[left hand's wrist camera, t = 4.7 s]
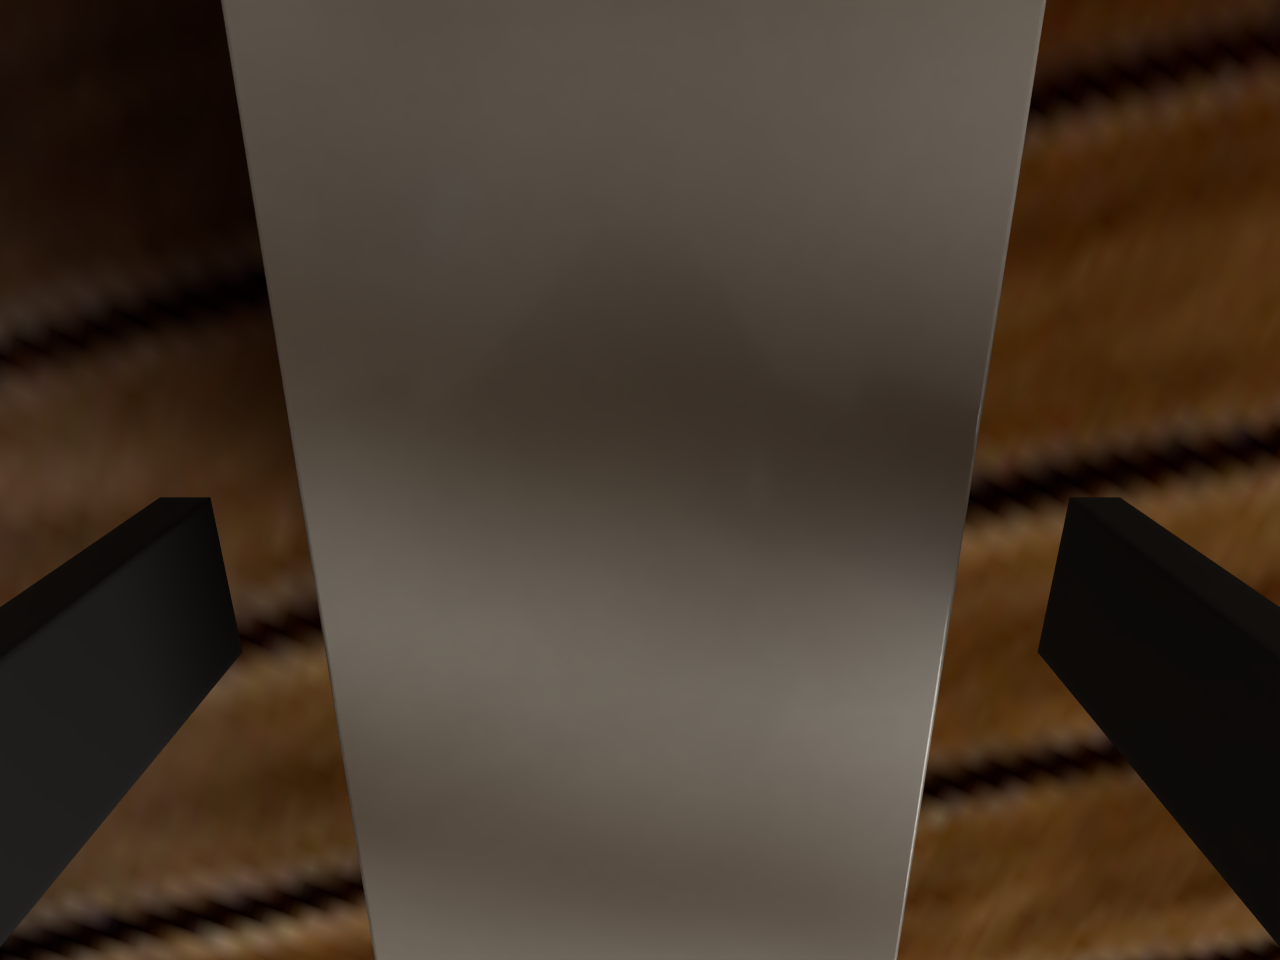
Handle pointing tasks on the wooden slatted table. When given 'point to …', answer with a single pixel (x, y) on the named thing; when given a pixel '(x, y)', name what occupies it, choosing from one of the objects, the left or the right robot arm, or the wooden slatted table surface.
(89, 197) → the wooden slatted table surface
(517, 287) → the cabinet
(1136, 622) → the left robot arm
